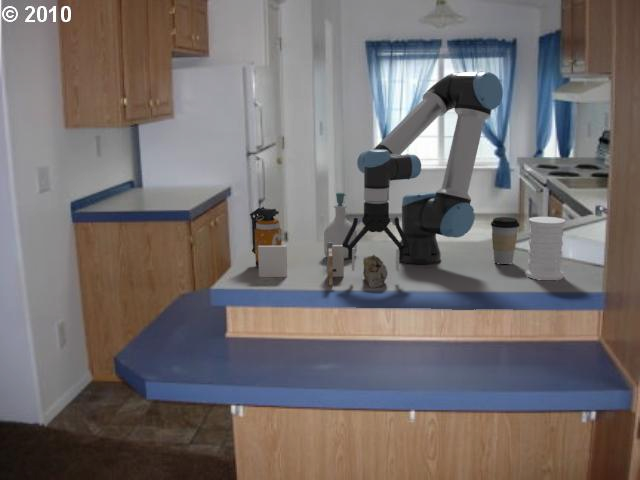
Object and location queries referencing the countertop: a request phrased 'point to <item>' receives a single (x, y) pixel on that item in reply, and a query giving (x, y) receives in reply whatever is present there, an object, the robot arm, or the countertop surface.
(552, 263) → the decorative container
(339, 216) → the soap bottle
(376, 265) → the rock
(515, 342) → the countertop surface
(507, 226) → the coffee cup
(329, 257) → the door
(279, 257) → the wall
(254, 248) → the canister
